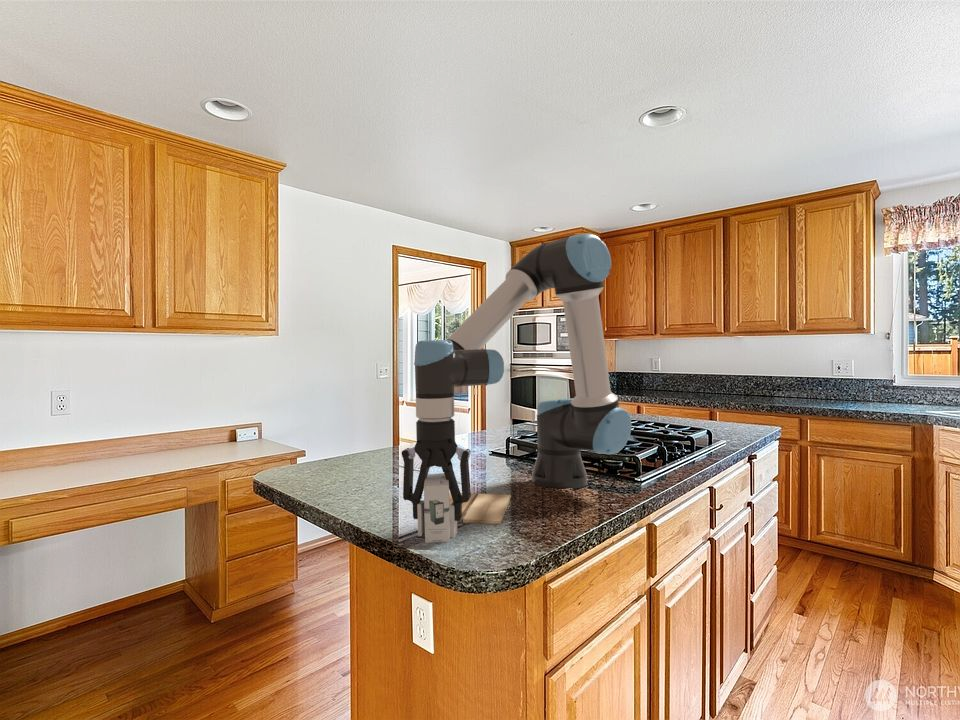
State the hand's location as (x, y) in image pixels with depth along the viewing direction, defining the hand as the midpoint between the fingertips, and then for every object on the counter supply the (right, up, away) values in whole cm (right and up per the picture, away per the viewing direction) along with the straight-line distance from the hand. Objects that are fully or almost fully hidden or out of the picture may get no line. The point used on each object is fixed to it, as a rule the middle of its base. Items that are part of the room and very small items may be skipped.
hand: (437, 535), depth 99 cm
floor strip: (+2, 0, +17) cm, 17 cm away
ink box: (0, -1, 0) cm, 1 cm away
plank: (+10, 0, +15) cm, 18 cm away
